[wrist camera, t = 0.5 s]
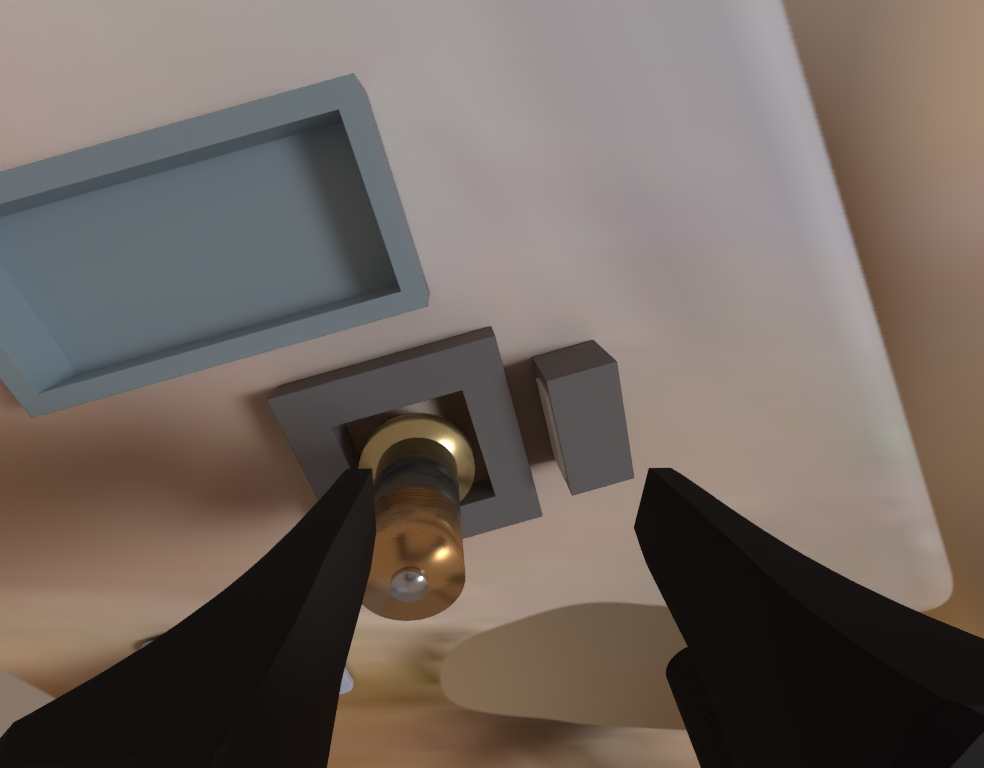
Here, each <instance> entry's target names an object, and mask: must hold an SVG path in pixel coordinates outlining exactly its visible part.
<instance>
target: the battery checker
mask: <svg viewBox="0 0 984 768" xmlns="http://www.w3.org/2000/svg"><path fill="white" fill-rule="evenodd" d="M532 358H533V363H534V367H535V371H536V376H537V378H536V382H537V386H538V391H539V395H540V399H541V403H542V408H543V412H544V416H545V420H546V425H547V429H548V433H549V438H550V442H551V446H552V450H553V455H554V457H555V460H556V462H557V464H558V466H559V469H560V471H561V473H562V475H563V477H564V479H565V481H566V483H567V485H568V488H569V490H570V492H571V494H572V496H573V495H576V494H580V493H583V492H587V491H590V490H594V489H598V488H601V487H605V486H608V485H612V484H615V483H619V482H622V481H626V480H629V479H633V478H634V473H633V466H632V459H631V453H630V446H629V439H628V432H627V426H626V419H625V412H624V406H623V399H622V392H621V385H620V379H619V372H618V365H617V361H616V360H615V359H614V358H613V357H611V356H610V355H609V354H608V353H607V352H606V351H605V350H604V349H603V348H602V347H601V346H599V345H598V344H597V343H596V342H595V341H594V340H591V341H588V342H584V343H581V344H577V345H574V346H570V347H567V348H563V349H560V350H556V351H552V352H549V353H545V354H542V355H538V356H535V357H532ZM461 390H463V394H464V397H465V400H466V403H467V406H468V410H469V413H470V416H471V419H472V422H473V425H474V429H475V432H476V435H477V438H478V441H479V445H480V448H481V451H482V454H483V457H484V461H485V464H486V467H487V470H488V473H489V477H490V479H489V480H486V481H482V482H479V483H475V484H472V486H471V488H470V490H469V491H468V493H467V494H466V496H465V497H464V498H463V499H462V500H461V501H460V511H461V525H462V539H464V538H467V537H471V536H474V535H478V534H481V533H485V532H488V531H492V530H495V529H499V528H502V527H506V526H510V525H513V524H517V523H520V522H524V521H527V520H531V519H534V518H538V517H541V516H543V515H542V511H541V508H540V504H539V500H538V496H537V493H536V489H535V485H534V481H533V477H532V474H531V470H530V466H529V462H528V459H527V455H526V451H525V447H524V443H523V440H522V436H521V432H520V428H519V425H518V421H517V417H516V413H515V409H514V406H513V402H512V398H511V394H510V391H509V387H508V383H507V379H506V375H505V372H504V368H503V364H502V360H501V357H500V353H499V349H498V345H497V341H496V338H495V335H494V332H493V330H492V327H491V326H490V327H487V328H483V329H480V330H476V331H472V332H469V333H465V334H462V335H458V336H455V337H451V338H448V339H444V340H441V341H437V342H433V343H430V344H426V345H423V346H419V347H416V348H412V349H409V350H405V351H402V352H398V353H395V354H391V355H387V356H384V357H380V358H377V359H373V360H370V361H366V362H363V363H359V364H356V365H352V366H348V367H345V368H341V369H338V370H334V371H331V372H327V373H324V374H320V375H317V376H313V377H309V378H306V379H302V380H299V381H295V382H292V383H288V384H285V385H281V386H278V387H277V388H276V390H275V391H274V392H273V393H272V394H271V396H270V397H269V398H268V399H267V402H268V404H269V406H270V408H271V409H272V411H273V413H274V415H275V417H276V419H277V421H278V423H279V425H280V427H281V429H282V431H283V432H284V434H285V436H286V438H287V440H288V442H289V444H290V446H291V448H292V450H293V452H294V454H295V455H296V457H297V459H298V461H299V463H300V465H301V467H302V469H303V471H304V473H305V475H306V477H307V478H308V480H309V482H310V484H311V486H312V488H313V490H314V492H315V494H316V496H317V498H318V500H320V498H321V497H322V496H323V495H324V494H325V493H326V492H327V490H328V489H329V488H330V487H331V486H332V485H333V483H334V482H335V481H336V480H337V479H338V478H339V476H340V475H341V474H342V473H343V472H344V471H345V470H346V469H358V468H359V461H360V459H359V457H358V455H357V453H356V451H355V448H354V446H353V444H352V442H351V440H350V437H349V435H348V433H347V431H346V428H345V426H344V423H348V422H351V421H355V420H358V419H362V418H365V417H369V416H373V415H376V414H380V413H383V412H387V411H390V410H394V409H397V408H401V407H404V406H408V405H411V404H415V403H419V402H422V401H426V400H429V399H433V398H436V397H440V396H443V395H447V394H450V393H454V392H457V391H461Z"/></svg>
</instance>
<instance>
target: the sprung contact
mask: <svg viewBox="0 0 984 768" xmlns="http://www.w3.org/2000/svg"><path fill="white" fill-rule="evenodd" d="M415 437H416V438H427V439H431V440H434V441H437V442H439V443H441V444H442V445H444V446H445V447H446V448H447V449H448V450H449V451H450V452H451V453H452V455H453V456H454V458H455V461H456V464H457V471H458V484H459V498H460V501H461V500H462V499H463V498H464V497H465V496H466V494H467V493H468V491H469V490H470V488H471V486H472V483H473V480H474V475H475V464H474V456H473V451H472V447H471V445H470V442H469V440H468V439H467V437H466V436H465V434H464V433H463V432H462V431H461V430H460V429H459V428H458V427H457V426H456V425H454V424H453V423H452V422H450V421H448V420H446V419H444V418H442V417H439V416H436V415H432V414H426V413H409V414H404V415H400V416H397V417H394V418H391V419H389V420H387V421H386V422H384V423H383V424H381V425H380V426H379V427H377V428H376V429H375V430H374V431H373V432H372V433H371V435H370V436H369V438H368V439H367V441H366V443H365V445H364V447H363V451H362V454H361V458H360V461H359V468H358V469H364V468H372V474H373V483H374V479H375V475H376V470H377V466H378V462H379V460H380V458H381V456H382V454H383V453H384V452H385V451H386V450H387V449H388V448H389V447H390V446H391V445H393V444H395V443H396V442H399V441H401V440H404V439H408V438H415Z"/></svg>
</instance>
